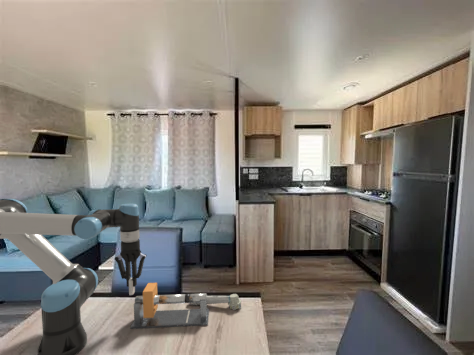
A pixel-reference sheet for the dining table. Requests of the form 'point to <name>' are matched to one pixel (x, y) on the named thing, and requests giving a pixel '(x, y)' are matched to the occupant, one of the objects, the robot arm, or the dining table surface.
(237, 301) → the white blue-tipped device
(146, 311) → the collar
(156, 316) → the pipe rig
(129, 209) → the robot arm
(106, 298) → the dining table surface
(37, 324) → the dining table surface
